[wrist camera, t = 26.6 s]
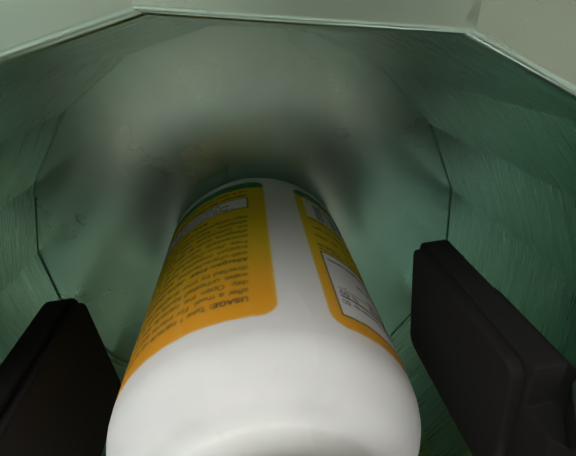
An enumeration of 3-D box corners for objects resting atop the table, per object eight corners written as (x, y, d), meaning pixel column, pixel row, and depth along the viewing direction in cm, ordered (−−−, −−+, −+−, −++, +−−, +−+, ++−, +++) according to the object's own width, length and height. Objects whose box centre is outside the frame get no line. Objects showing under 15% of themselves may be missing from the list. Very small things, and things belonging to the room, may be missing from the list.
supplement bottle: (359, 192, 12) (634, 568, 4) (311, 324, 14) (415, 749, 6) (183, 154, 11) (-2, 572, 3) (161, 304, 13) (22, 793, 5)
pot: (489, -48, 10) (1225, -269, 3) (448, 364, 17) (614, 632, 9) (-93, 26, 9) (-1382, 22, 2) (108, 423, 16) (-3, 762, 9)
